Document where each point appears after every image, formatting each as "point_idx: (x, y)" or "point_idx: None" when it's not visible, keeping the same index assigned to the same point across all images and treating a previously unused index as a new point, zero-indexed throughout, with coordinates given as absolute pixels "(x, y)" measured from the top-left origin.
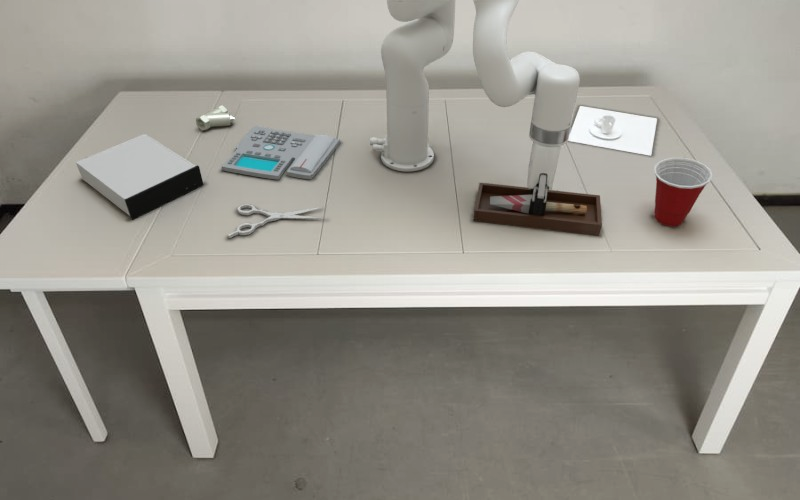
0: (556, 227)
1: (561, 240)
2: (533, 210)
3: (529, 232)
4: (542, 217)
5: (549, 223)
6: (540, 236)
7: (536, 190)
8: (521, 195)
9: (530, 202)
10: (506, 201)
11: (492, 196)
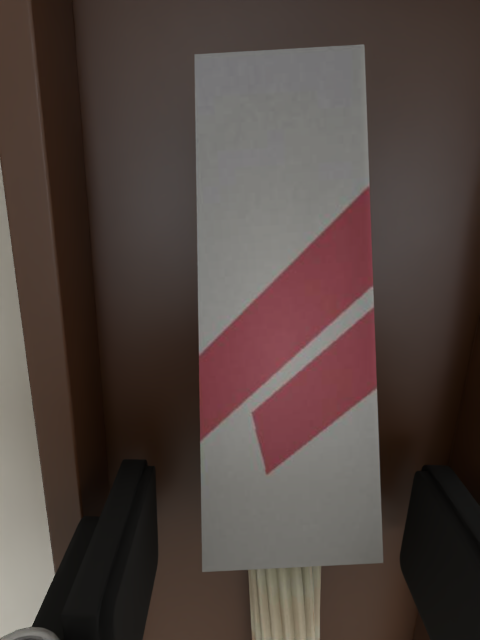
0: None
1: (11, 603)
2: (67, 549)
3: (31, 429)
4: None
5: None
6: (9, 496)
7: (442, 563)
8: (372, 417)
9: (77, 579)
10: (257, 261)
11: (466, 96)
